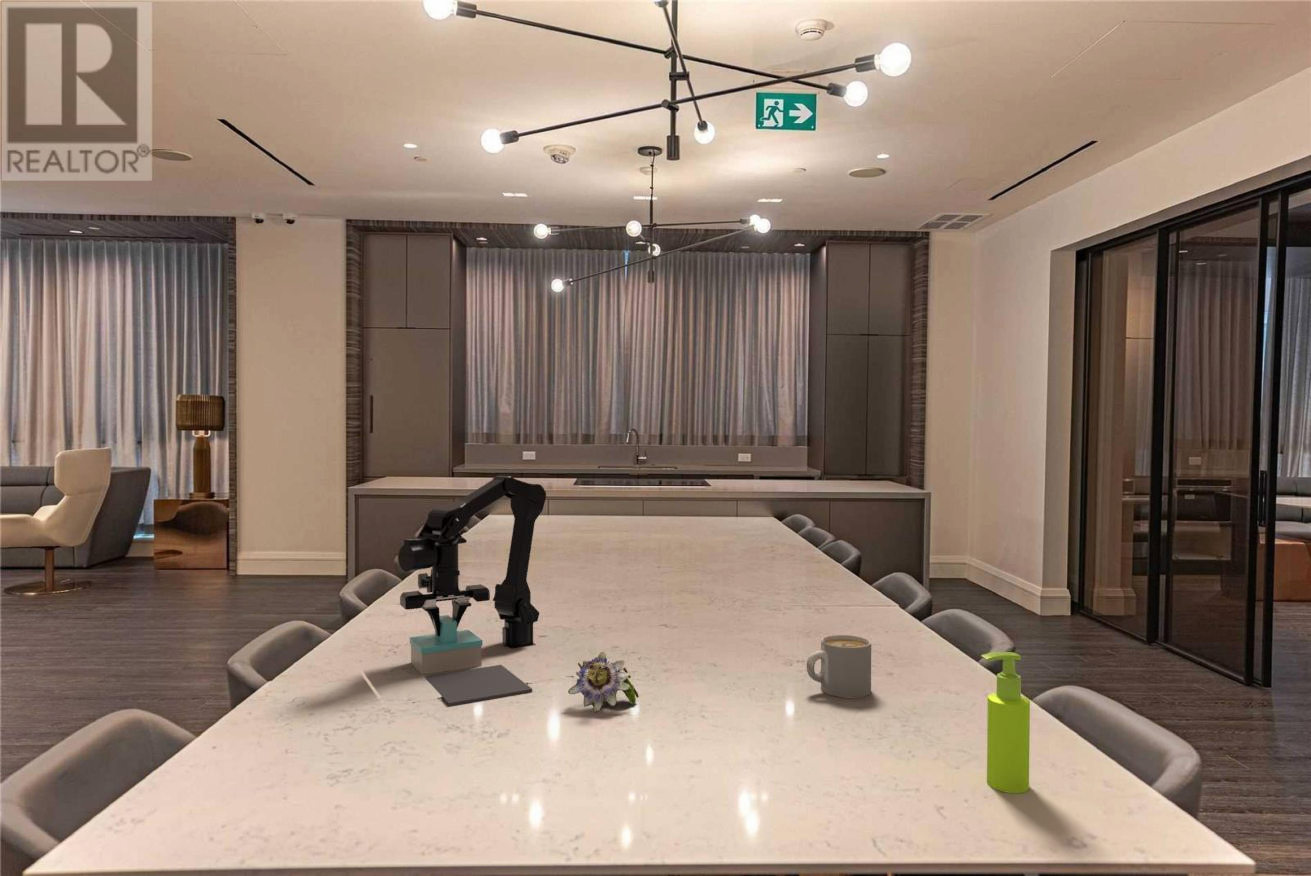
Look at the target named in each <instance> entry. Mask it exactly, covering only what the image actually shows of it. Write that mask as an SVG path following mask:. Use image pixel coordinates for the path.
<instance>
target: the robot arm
mask: <svg viewBox="0 0 1311 876" xmlns="http://www.w3.org/2000/svg"><path fill="white" fill-rule="evenodd" d="M503 497H505V498H507V499H509V500H510V509H511V512H512V515H513V518H514V521H513V528H512V534H511V539H510V540H511V541H510V547H509V554H508V562H507V568H506V574H505V578H504V580H503V581H502V583H496V584H495V587H494V597H493V599H492V602H494V609H495V610H496V611H497V614H498V617H499V620H500V621H503V620H504V624H503V625H504V626H502V629H501V631H502V634H501V635H502V645H504V646H505V647H508V649H518V648H526V647H532V646H537V644H536V643H535V642H534V623H536V622H538V620H539V616H540V611H539V610H538V609H537V608H536V607H535V606H534V605H533V604H532V603H531V601H532V600H531V598H532V596H531V589H530V587H529V583H528V580H527V579H528V571H529V565H530V564H529V563H530V557H531V551H532V543H533V537H534V530H535V522H536V521H537V519H538V518H539V516H540V514H541V513H542V512H543V510H544V506H545V503H546V500H547V499H546V498H547V492H546V490H545V488H544V487H543V486H542V485H541V484H538V483H528V482H525V481H522V480H518V479H517V478H515V477H512V476H508V475H496V476H494V477H493V478H492V480H489V481H488V482H486V483H485V484H484V485H482V486H480V487H479V488H477V489H475V490H473V492H470V493H469V494H468V495H466V496H464V497H463V498H461V499H460V500H456V501H454V502H451V503H446V504H443V505H441V506H437V507H435V508H433V509H432V510H430V511H429V512H428V514H427V519H426V521H425V522H424V525H423V527H422V528H421V529H420V532H419V533H418V535H417V538H413V539H411V538H407V539H406V538H405V539H403V545H402V546H401V548H400V549H399V552H398V554H397V560H398V565H399V567H400V568H401V570H402V571H403V572H406V573H408V572H415V571H420V570H425V569H430V575H428V573H427V572H425V573H418V574H417V586H418V589H419V590H420V589H426V593H422V592H421V591H419V590H413V591H412V590H411V591H403V592H402V593H401V594H400V597H399V605H400V606H401V607H402V608H404V610H409V611H410V610H417V609H421V610H423V611H425V612H427V614H428V616H429V618H430V620H431V623H432V625H433V628H434V633H435V632H436V635H437V636H438V637H439V636H440V616H441V615H440V607H439V606H437V602H447V601H451V606H452V613H451V614H452V615H451V618H453V619H454V620H455V621H457V629H458V628H459V625H460V623H461V620H462V618H463V616H464V615H465V612H466V611H467V608H469V607H471V606H472V602H470V600H471V599H473V600H474V601H476V603H477V602H478V603H479V602H489V601H491V594H490V592H491V591H490V589H489V588H488V587H486V586H484V585H482V584H481V583H480V584H479V583H478V584H472V585H471V584H470V585H466V586H465V589H463V590H461V588H460V586H459V585H460V583H459V582H460V580H459V579H460V577H459V576H460V575H461V571H460V569H459V545H461V544H466V543H467V539H465V538H464V537H463V536H462V535H461V533H460V532H461V531H462V530H463V529H465V528H466V527H467V526H468V525H469V522H470V520H471V519H472V518H473V517H474V516H475V515H477V514H478V513H480V512H481V511H482V510H485V509H486V508H488V506H491V505H492V504H494V503H495V502H496V501H498V500H500V499H501V498H503Z"/></svg>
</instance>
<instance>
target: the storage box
mask: <svg viewBox="0 0 1311 876" xmlns="http://www.w3.org/2000/svg"><path fill="white" fill-rule="evenodd" d="M410 664H412V666H414V667H415V669H416V670H417V671H418V672H419V673H420V674H421V675H424V676H425V675H429V674H430V675H431V674H437V673H444V672H451V671H458V670H465V669H471V668H476V667H477V668H478V667H481V666H482V646H476V647H469V648H462V649H455V650H448V651H441V652H433V653H426V654H421V653H420V652H419V651H418V650H417V649H416V648H415V647H414V646H413V645H412V644H411V643H410Z"/></svg>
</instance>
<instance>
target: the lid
mask: <svg viewBox="0 0 1311 876" xmlns="http://www.w3.org/2000/svg"><path fill="white" fill-rule="evenodd" d="M409 644H410V645H411V644H412V645H413V646H414V647H415V648H416V649H417V650H418V651H419V652H420V653H421V654H426V653H433V652H441V651H448V650H455V649H462V648H469V647H476V646H481V647H482V646H483V645H484V644H483V639H482V638H480V637H479V636H478V635H476V634H475V633H474V632H472V631H471V630H469V629H463V630H458V628H457V621H455V620H454V619H453V618H452V616H450V615H449V614H445V615H440V636H439V637H438V636H437V635H436V632H435V631H434V633H432V634H426V635H425V634H424V635H418V636H410V637H409Z"/></svg>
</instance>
